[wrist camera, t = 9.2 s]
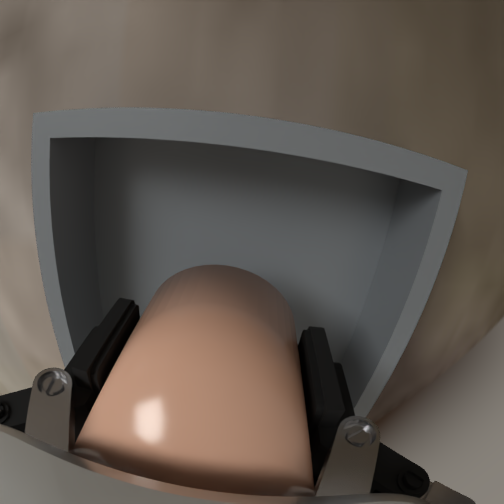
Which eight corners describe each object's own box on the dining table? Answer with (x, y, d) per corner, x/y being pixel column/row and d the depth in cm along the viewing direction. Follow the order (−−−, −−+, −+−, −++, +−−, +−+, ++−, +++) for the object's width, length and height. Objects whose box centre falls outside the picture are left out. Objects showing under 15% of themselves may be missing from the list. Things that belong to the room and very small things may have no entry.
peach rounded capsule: (146, 253, 11) (40, 395, 4) (310, 277, 11) (355, 450, 4) (151, 370, 13) (104, 498, 7) (278, 389, 13) (283, 528, 7)
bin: (89, 111, 12) (33, 113, 8) (415, 155, 13) (467, 170, 9) (105, 363, 19) (80, 408, 14) (334, 396, 19) (344, 447, 15)
